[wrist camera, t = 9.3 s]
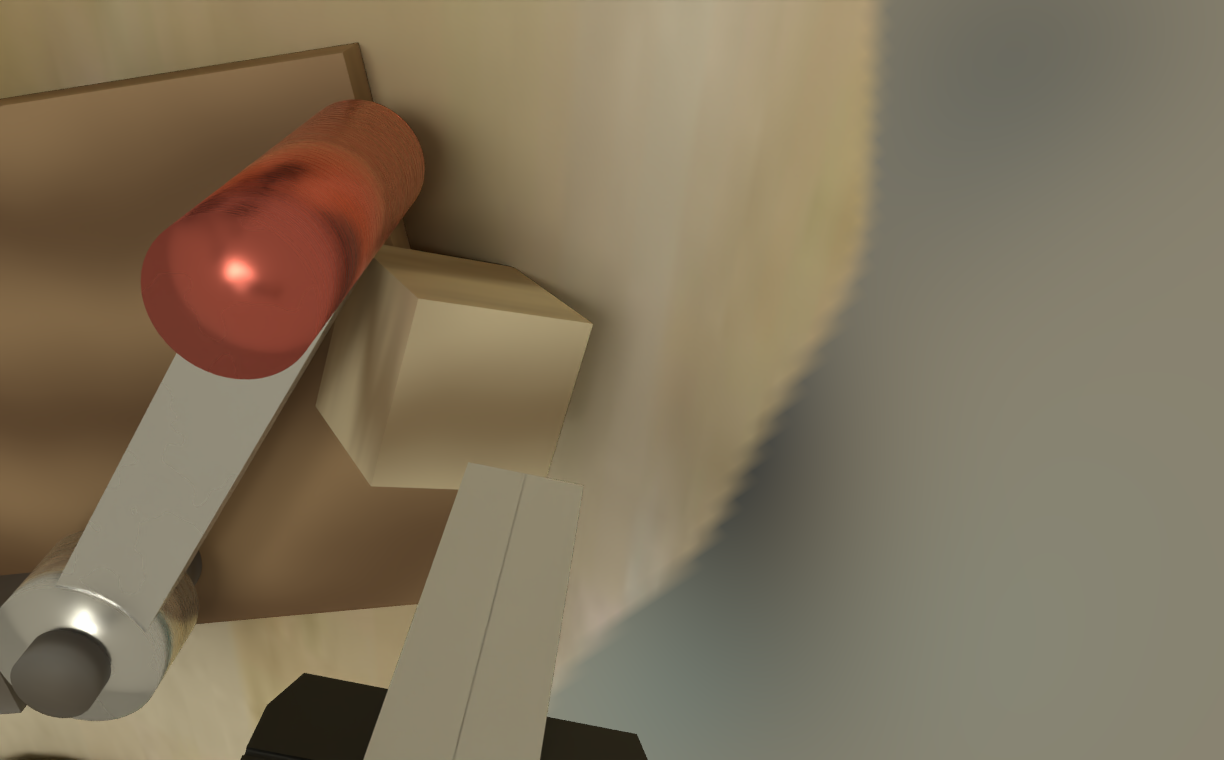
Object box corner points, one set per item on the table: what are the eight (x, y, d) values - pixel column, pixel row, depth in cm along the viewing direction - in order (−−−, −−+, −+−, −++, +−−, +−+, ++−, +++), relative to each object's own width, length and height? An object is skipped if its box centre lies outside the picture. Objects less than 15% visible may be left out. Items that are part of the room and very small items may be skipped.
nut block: (354, 239, 29) (418, 298, 25) (513, 267, 32) (593, 323, 28) (315, 406, 31) (370, 486, 27) (471, 418, 33) (542, 492, 30)
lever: (303, 51, 26) (132, 149, 18) (479, 165, 27) (393, 305, 19) (21, 606, 35) (-179, 841, 27) (163, 676, 36) (11, 923, 28)
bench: (-346, 153, 32) (-625, 240, 25) (358, 42, 29) (259, 105, 22) (-81, 624, 40) (-239, 787, 33) (491, 570, 37) (449, 736, 30)
